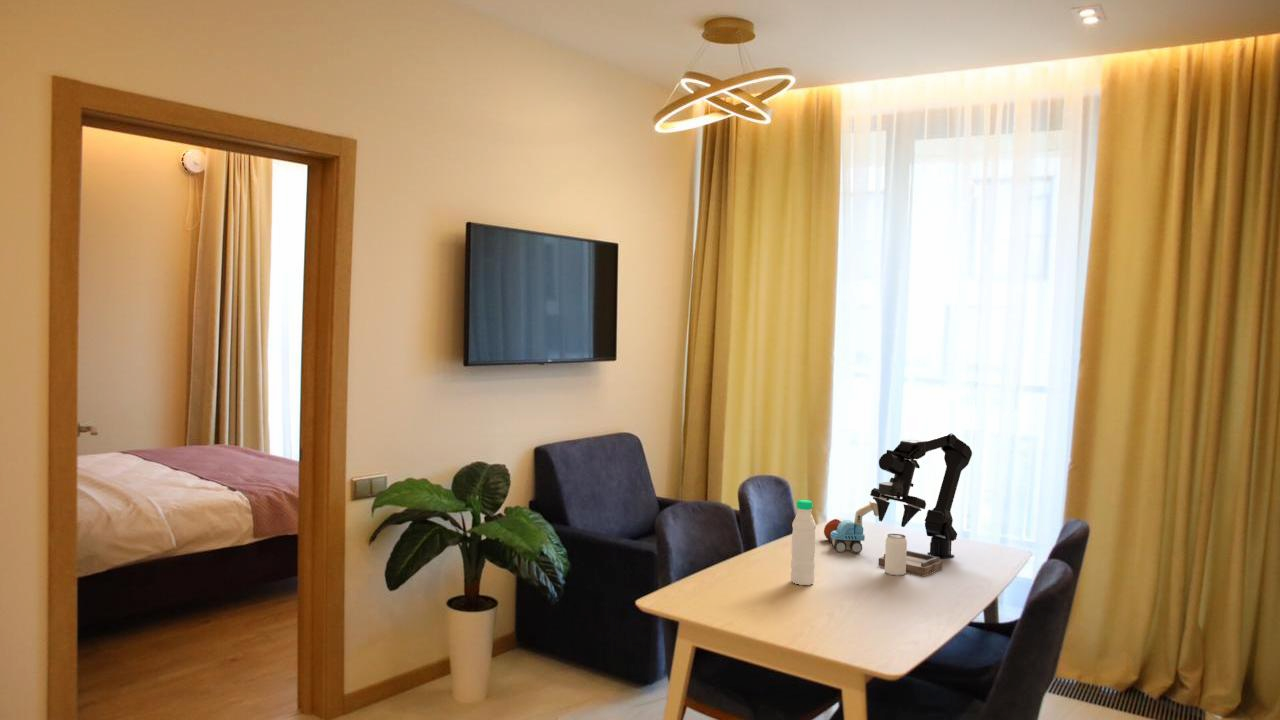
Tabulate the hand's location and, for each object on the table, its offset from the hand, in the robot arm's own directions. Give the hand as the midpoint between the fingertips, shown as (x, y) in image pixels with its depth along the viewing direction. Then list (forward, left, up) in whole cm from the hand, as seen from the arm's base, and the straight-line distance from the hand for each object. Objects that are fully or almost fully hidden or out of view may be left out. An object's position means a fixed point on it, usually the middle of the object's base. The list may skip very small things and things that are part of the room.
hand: (891, 523), depth 297 cm
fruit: (-3, -33, -14) cm, 36 cm away
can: (+4, +8, -14) cm, 17 cm away
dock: (-5, +4, -14) cm, 15 cm away
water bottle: (+39, +7, -14) cm, 42 cm away
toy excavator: (-1, -20, -14) cm, 25 cm away
